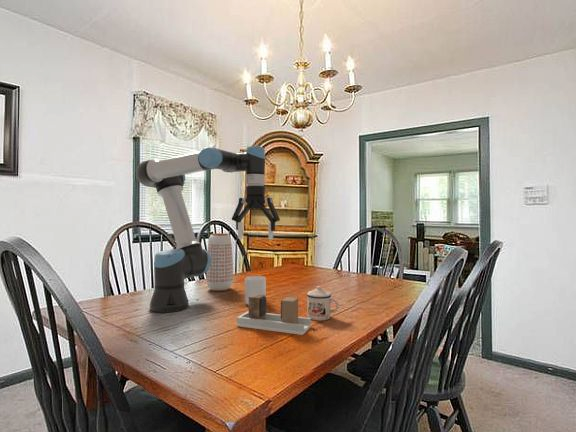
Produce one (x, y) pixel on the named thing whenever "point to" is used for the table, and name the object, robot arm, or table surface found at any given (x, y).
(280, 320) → the rail
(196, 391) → the table surface
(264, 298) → the block
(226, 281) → the white patterned vase
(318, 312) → the teacup with lid
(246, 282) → the mug
